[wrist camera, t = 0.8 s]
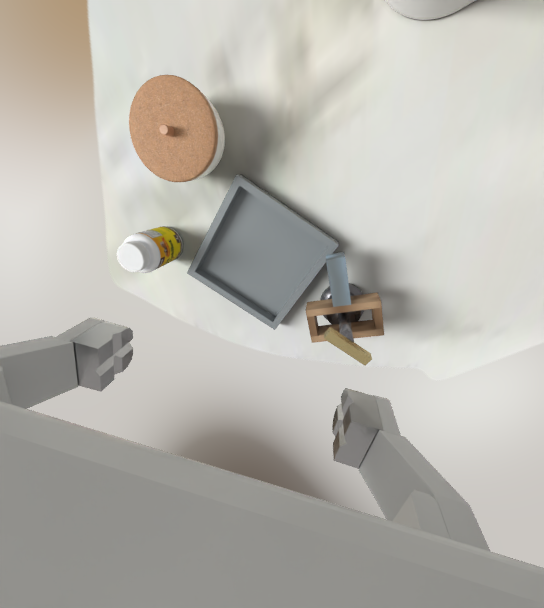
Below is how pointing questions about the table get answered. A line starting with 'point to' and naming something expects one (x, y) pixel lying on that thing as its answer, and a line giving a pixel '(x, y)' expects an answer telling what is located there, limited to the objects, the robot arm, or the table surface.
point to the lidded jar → (176, 129)
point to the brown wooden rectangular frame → (344, 304)
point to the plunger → (345, 329)
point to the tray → (260, 252)
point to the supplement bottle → (149, 249)
